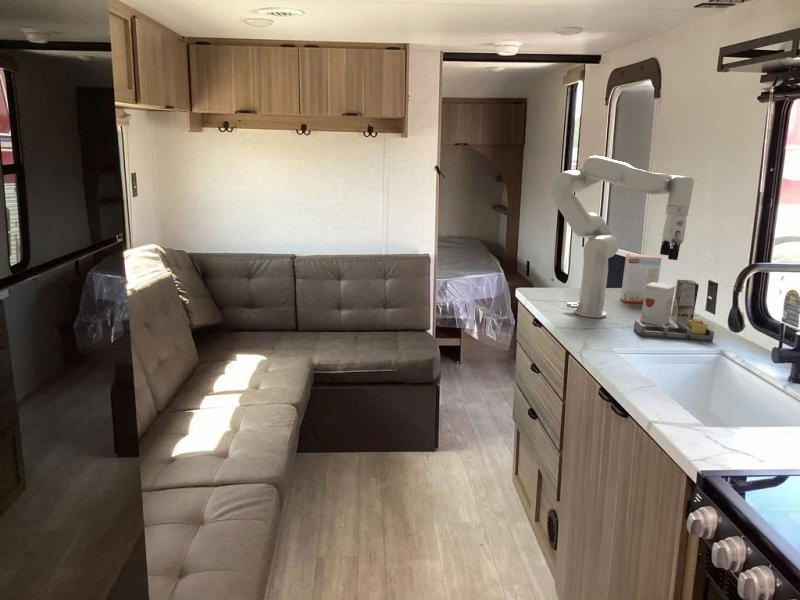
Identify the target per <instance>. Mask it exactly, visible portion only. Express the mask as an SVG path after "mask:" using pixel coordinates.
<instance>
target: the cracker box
mask: <svg viewBox="0 0 800 600" xmlns="http://www.w3.org/2000/svg"><path fill="white" fill-rule="evenodd" d="M661 264H662V257H660V256H658V255H648V254H625V262H624V270H623V277H622V284H621V285H622V286H621V292H620V300H621V301H622V302H623V303H632V304H633V303H634V304H637V303H638V304H643V300H644V294H645V287H646V285H647V284H649V283H651V282H655V283H659V280H660V279H659V278H660V272H661V267H662V266H661Z"/></svg>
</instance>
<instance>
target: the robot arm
mask: <svg viewBox="0 0 800 600" xmlns="http://www.w3.org/2000/svg"><path fill="white" fill-rule="evenodd" d="M600 181H601V182H605V183H609V184H613V185H616V186H620V187H623V188H627V189H630V190H634V191H637V192H641V193H644V194H649V195H668V197H667V203H666V208H665V214H666V217H665V222H664V225H663V231H662V240H661V246H660V249H659V250H660V251H659V255H661V256H662V255H663V256H668V257H667V259H668V260H670V261H677V260H678V259H679V255H680V254H679V253H680V249H681V244H683V243H684V240H685V235H686V234H685V233H686V227H687V226H686V225H687V217H688V216H689V210H690V207H691V206H690V205H691V201H692V195H693V190H694V185H695V180H694V178H693V177H691V176H685V175H674V174H673V175H672V174H668V173H664V172H663V173H661V172H657V173H656V172H652V171H647V170H643V169H639V168H636V167H633V166H632V165H631V164H629V163H627V162H623V161H618V160H614V159H610V158H608V157H606V156H601V155H600V156H598V155H593V156H589V157H588V158H586V159H585V161H584V162H583V164H582V167H580V168H579V169H577V170H564V171H562V172H561V171H560V172H559V173H558V174H556V176H555V177H554V179H553V181H552V182H551V187H550V191H551V193H550V194H551V195H550V196H551V198H552V200H553V202H554V204H555V206H556V207H557V208H558V210H559V211H560V213H561V215H562V216H563V218H564V220H565V221H566V222H567V224H568V225H569V227H570V229H571V230H572V232H573V233H574V235H576V236H577V237H579V238H587V239H588V240H587V241H586V242H585V244H584V247H583V267H582V277H581V284H580V293H579V299H578V300H577V301H576V302H566V308H570V309H574V310H573V313H574V314H575V315H578V316H581V317H585V318H593V319H601V318H606V317H607V312H606V311H604V306H605V298H606V290H607V285H608V284H607V282H608V275H609V258H612V257H614V256H615V255H616V254H617V253H618V251H619V247H620V245H619V241H618V239H617V237H616V236H615V234H614V233H613V231H612V230H611V228H609V225H608V224H607V223H606V221H605V220H604V219H603V217H602V216H601V215H599V214H597V213H595V212H589V211H587V209H586V208H585V206H584V205H583V204H582V202H581V201H580V200H579V198H577V196H576V195H575V193H580V192H582V191H584V190H586V189H588V188H590V187H592V186H593V185H596V184H598V183H599V182H600Z"/></svg>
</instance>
